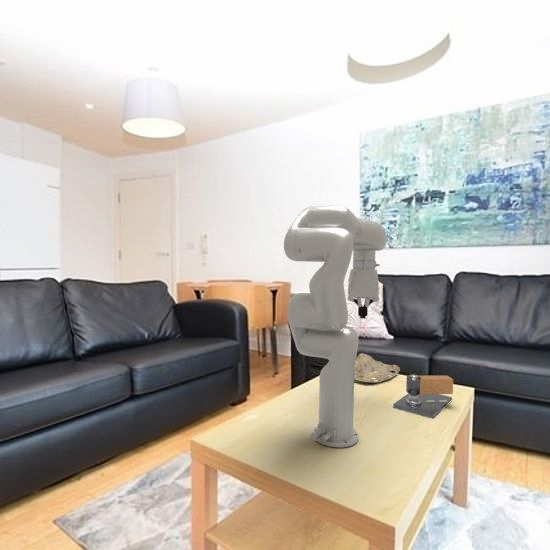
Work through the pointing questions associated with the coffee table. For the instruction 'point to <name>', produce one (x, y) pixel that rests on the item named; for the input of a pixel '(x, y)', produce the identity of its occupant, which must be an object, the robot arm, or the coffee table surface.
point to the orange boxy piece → (429, 385)
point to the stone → (372, 369)
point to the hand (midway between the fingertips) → (362, 317)
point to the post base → (423, 404)
